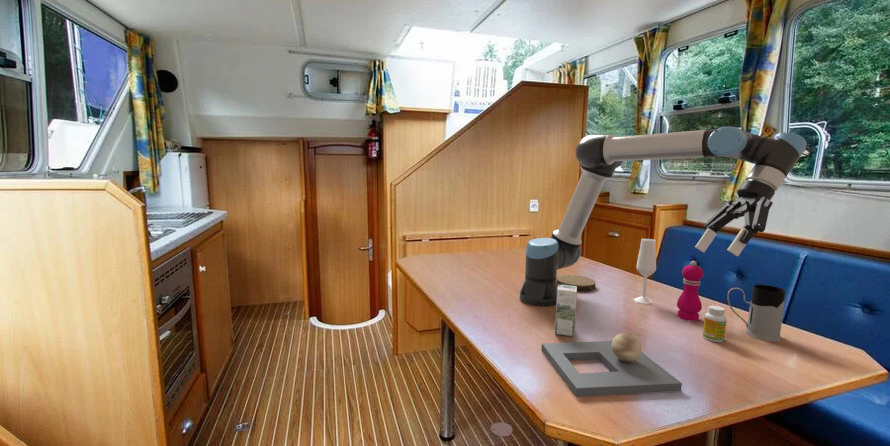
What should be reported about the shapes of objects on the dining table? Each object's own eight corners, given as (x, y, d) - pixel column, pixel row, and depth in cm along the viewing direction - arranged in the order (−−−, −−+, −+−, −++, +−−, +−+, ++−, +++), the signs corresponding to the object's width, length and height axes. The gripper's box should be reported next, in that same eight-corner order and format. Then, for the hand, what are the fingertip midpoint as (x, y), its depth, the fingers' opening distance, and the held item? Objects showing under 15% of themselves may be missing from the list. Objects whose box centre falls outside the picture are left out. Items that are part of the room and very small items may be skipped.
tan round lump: (608, 362, 97) (609, 335, 96) (613, 351, 102) (615, 326, 101) (638, 370, 93) (641, 343, 92) (642, 358, 99) (645, 332, 98)
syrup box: (574, 330, 121) (577, 285, 119) (574, 337, 115) (577, 291, 113) (555, 327, 122) (557, 283, 120) (554, 334, 117) (556, 288, 115)
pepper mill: (704, 322, 128) (710, 264, 125) (680, 320, 129) (686, 262, 126) (694, 314, 135) (701, 259, 132) (672, 313, 136) (677, 257, 133)
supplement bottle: (717, 344, 112) (721, 312, 111) (698, 336, 117) (701, 306, 115) (727, 340, 115) (731, 309, 113) (708, 333, 119) (712, 303, 118)
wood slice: (563, 279, 178) (563, 273, 177) (599, 285, 168) (599, 279, 168) (550, 287, 165) (551, 280, 164) (589, 295, 156) (589, 287, 155)
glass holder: (784, 344, 113) (791, 294, 111) (724, 332, 120) (730, 286, 118) (778, 333, 120) (784, 287, 118) (722, 323, 127) (727, 279, 125)
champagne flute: (634, 302, 147) (639, 240, 143) (632, 297, 153) (637, 237, 149) (654, 304, 144) (659, 242, 141) (652, 299, 150) (657, 239, 147)
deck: (626, 347, 109) (627, 340, 109) (681, 391, 88) (681, 383, 87) (541, 350, 107) (541, 343, 107) (576, 396, 85) (576, 388, 85)
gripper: (813, 189, 91) (762, 263, 92) (738, 197, 116) (698, 255, 117) (786, 172, 92) (735, 246, 92) (717, 183, 117) (677, 241, 117)
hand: (714, 251), depth 104 cm, fingers open, 13 cm apart
